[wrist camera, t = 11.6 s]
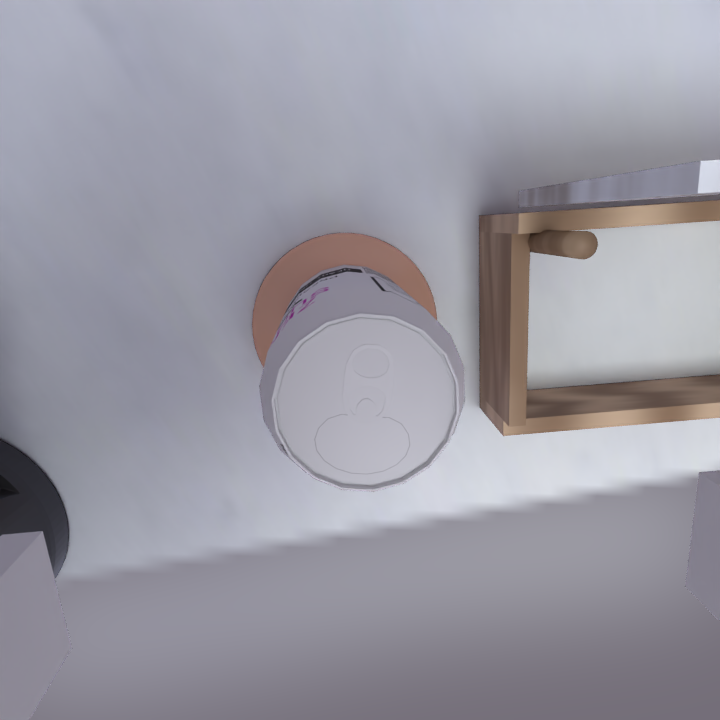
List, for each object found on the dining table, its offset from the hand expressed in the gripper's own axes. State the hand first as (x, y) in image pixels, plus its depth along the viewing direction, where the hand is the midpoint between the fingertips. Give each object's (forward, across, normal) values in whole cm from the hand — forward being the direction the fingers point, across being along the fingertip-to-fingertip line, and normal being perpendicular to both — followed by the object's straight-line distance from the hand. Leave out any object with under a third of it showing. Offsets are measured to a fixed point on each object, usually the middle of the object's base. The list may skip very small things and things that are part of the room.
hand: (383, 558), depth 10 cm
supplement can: (+24, 0, 0) cm, 24 cm away
